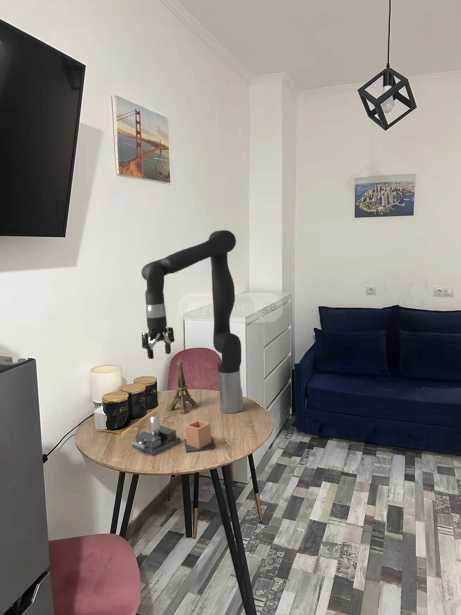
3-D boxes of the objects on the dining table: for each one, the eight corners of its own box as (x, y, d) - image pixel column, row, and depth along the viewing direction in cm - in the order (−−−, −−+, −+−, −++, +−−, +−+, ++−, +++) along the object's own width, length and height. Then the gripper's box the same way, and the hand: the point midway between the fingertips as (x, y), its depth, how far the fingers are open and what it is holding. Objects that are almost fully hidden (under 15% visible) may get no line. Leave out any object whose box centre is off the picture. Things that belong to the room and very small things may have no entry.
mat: (211, 437, 167) (211, 436, 167) (215, 449, 157) (215, 447, 157) (184, 440, 165) (184, 439, 165) (186, 452, 155) (186, 451, 155)
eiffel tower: (182, 403, 206) (178, 349, 202) (200, 406, 199) (196, 351, 196) (166, 410, 197) (161, 354, 194) (184, 414, 191) (179, 356, 188)
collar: (199, 438, 165) (197, 419, 164) (211, 442, 161) (210, 423, 160) (186, 444, 161) (185, 425, 160) (199, 448, 157) (197, 429, 156)
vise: (160, 434, 172) (158, 408, 170) (180, 441, 164) (178, 414, 163) (128, 449, 161) (125, 421, 159) (148, 457, 153) (145, 428, 152)
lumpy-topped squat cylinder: (92, 428, 183) (89, 407, 181) (116, 416, 193) (114, 397, 192) (110, 432, 177) (108, 411, 176) (134, 420, 188) (132, 400, 186)
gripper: (147, 319, 168) (151, 361, 170) (176, 312, 178) (179, 353, 180) (135, 317, 172) (139, 359, 175) (164, 312, 183) (167, 351, 185)
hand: (159, 356), depth 178 cm, fingers open, 8 cm apart
